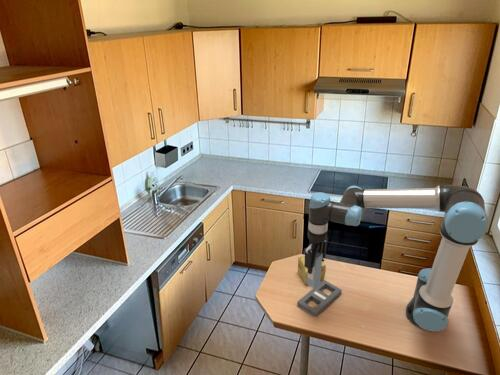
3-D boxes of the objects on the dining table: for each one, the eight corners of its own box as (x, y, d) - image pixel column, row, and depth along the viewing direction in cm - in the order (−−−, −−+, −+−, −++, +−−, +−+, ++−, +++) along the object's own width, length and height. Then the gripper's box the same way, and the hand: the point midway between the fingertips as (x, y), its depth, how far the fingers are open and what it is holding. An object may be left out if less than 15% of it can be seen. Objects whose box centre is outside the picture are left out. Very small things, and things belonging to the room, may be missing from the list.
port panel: (341, 293, 175) (341, 289, 174) (315, 317, 162) (315, 313, 161) (323, 283, 181) (323, 279, 180) (297, 305, 169) (297, 301, 168)
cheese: (304, 286, 180) (305, 269, 176) (296, 271, 189) (297, 255, 185) (324, 281, 183) (326, 265, 178) (315, 267, 192) (316, 252, 187)
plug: (320, 283, 163) (322, 253, 155) (314, 288, 160) (316, 258, 153) (312, 279, 165) (314, 249, 158) (306, 283, 163) (308, 253, 155)
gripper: (322, 217, 157) (318, 262, 168) (296, 234, 147) (294, 281, 158) (337, 224, 153) (332, 270, 163) (312, 242, 142) (308, 289, 153)
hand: (314, 275), depth 160 cm, fingers closed on plug, 4 cm apart
